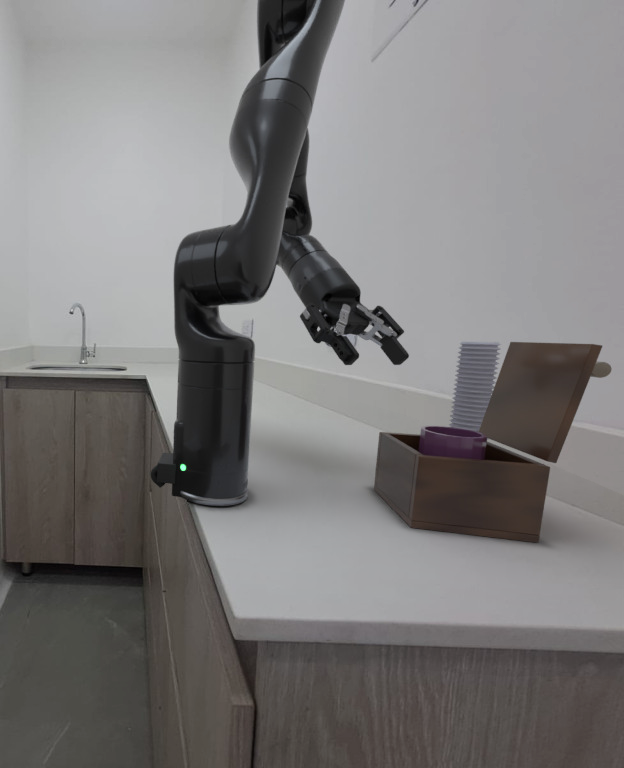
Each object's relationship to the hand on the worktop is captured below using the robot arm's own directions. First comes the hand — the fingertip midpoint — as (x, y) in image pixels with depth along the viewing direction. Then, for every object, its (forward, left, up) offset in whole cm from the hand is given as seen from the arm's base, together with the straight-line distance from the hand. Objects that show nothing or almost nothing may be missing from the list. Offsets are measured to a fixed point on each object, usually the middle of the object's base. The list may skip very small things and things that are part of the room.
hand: (378, 361), depth 55 cm
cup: (+5, -9, -16) cm, 19 cm away
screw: (+12, +2, -17) cm, 21 cm away
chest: (+5, -9, -17) cm, 20 cm away
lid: (+12, -9, -3) cm, 15 cm away
